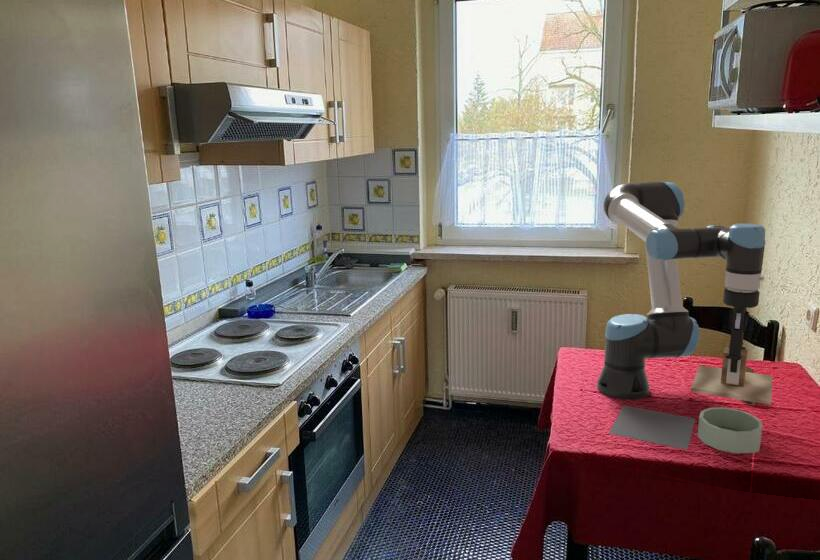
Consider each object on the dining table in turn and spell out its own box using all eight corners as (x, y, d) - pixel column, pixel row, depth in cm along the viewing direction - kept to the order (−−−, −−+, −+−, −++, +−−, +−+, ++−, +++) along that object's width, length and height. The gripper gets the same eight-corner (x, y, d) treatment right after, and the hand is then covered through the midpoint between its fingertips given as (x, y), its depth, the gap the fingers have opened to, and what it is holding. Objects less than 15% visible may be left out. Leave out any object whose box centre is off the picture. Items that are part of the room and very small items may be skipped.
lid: (690, 391, 150) (693, 356, 148) (698, 368, 164) (701, 336, 162) (770, 405, 142) (775, 368, 140) (772, 379, 156) (776, 345, 154)
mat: (608, 435, 161) (608, 433, 161) (623, 407, 177) (623, 405, 177) (687, 452, 152) (687, 449, 152) (695, 420, 168) (695, 418, 168)
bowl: (695, 447, 154) (697, 425, 153) (700, 424, 166) (702, 403, 165) (759, 460, 147) (761, 437, 146) (760, 435, 159) (762, 414, 158)
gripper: (758, 299, 138) (748, 395, 143) (761, 282, 153) (751, 369, 158) (721, 295, 142) (712, 389, 147) (727, 279, 157) (719, 365, 162)
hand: (733, 379), depth 153 cm, fingers closed on lid, 5 cm apart
